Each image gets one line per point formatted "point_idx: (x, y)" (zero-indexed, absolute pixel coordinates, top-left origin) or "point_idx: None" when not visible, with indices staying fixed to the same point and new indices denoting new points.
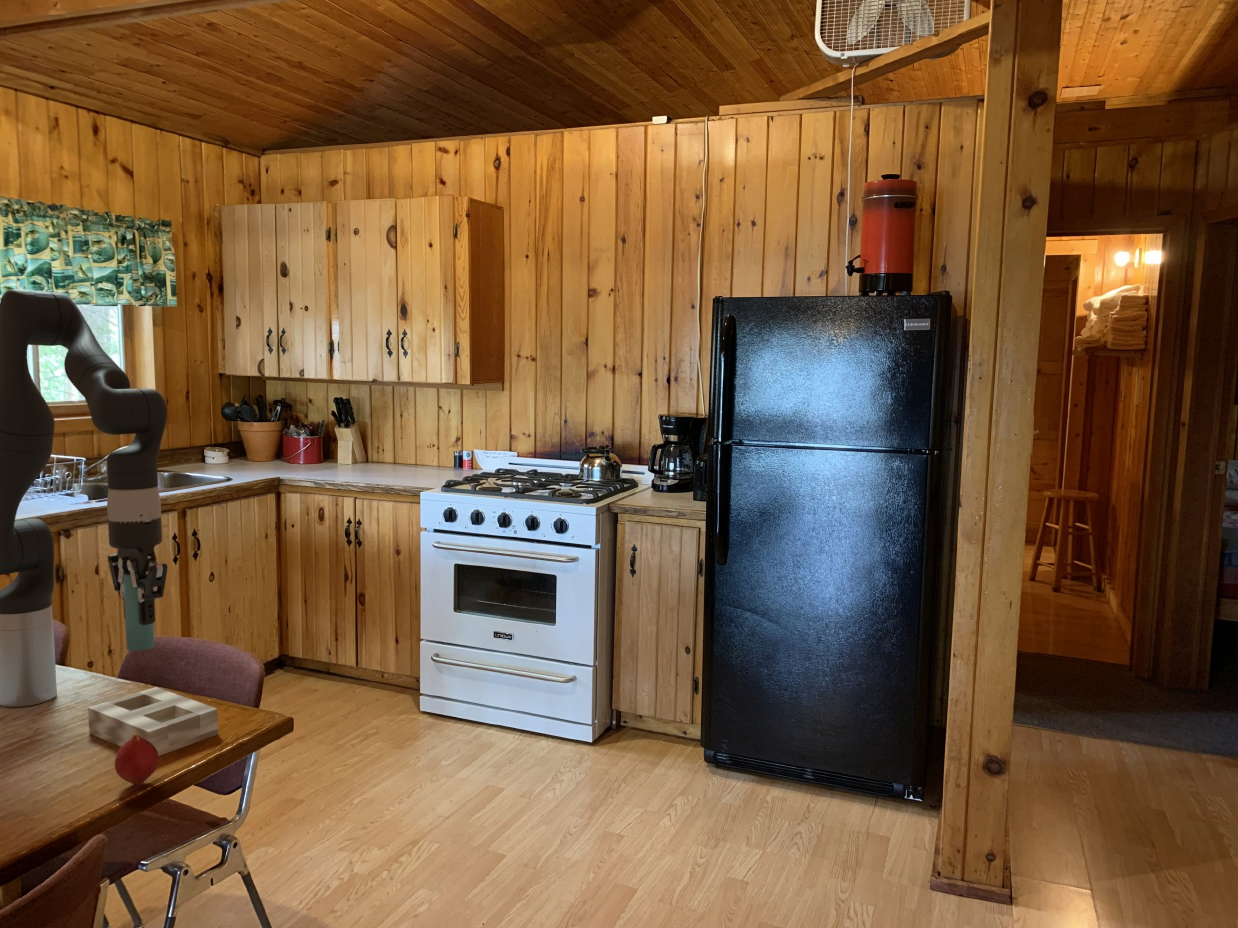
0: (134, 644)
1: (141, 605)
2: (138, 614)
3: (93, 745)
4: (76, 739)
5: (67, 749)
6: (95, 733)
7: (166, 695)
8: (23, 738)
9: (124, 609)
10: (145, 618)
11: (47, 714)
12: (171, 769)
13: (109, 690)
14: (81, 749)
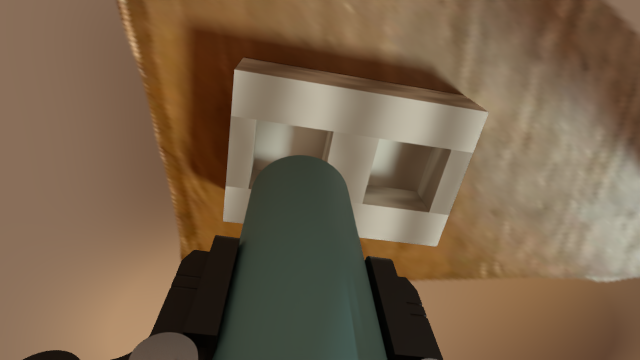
0: (274, 171)
1: (188, 318)
2: (239, 271)
3: (407, 56)
4: (465, 62)
5: (443, 16)
6: (443, 93)
7: (379, 225)
8: (580, 16)
9: (395, 293)
10: (189, 262)
11: (617, 124)
12: (159, 40)
13: (578, 244)
14: (415, 30)
